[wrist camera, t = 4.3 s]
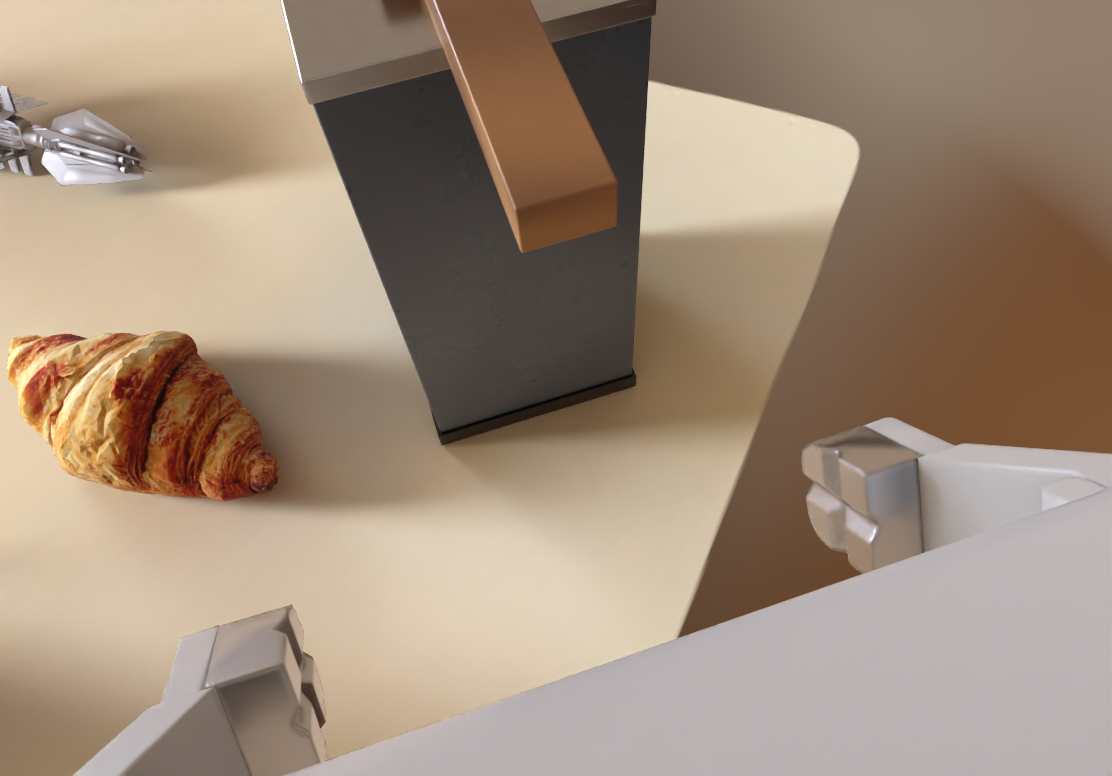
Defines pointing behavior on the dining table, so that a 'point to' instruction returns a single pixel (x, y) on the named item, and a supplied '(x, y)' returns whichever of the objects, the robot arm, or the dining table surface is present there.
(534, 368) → the canister with copper handle
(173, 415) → the croissant
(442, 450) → the dining table surface
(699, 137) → the dining table surface
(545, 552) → the dining table surface
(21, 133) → the spaceship
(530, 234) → the copper canister handle
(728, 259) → the dining table surface
